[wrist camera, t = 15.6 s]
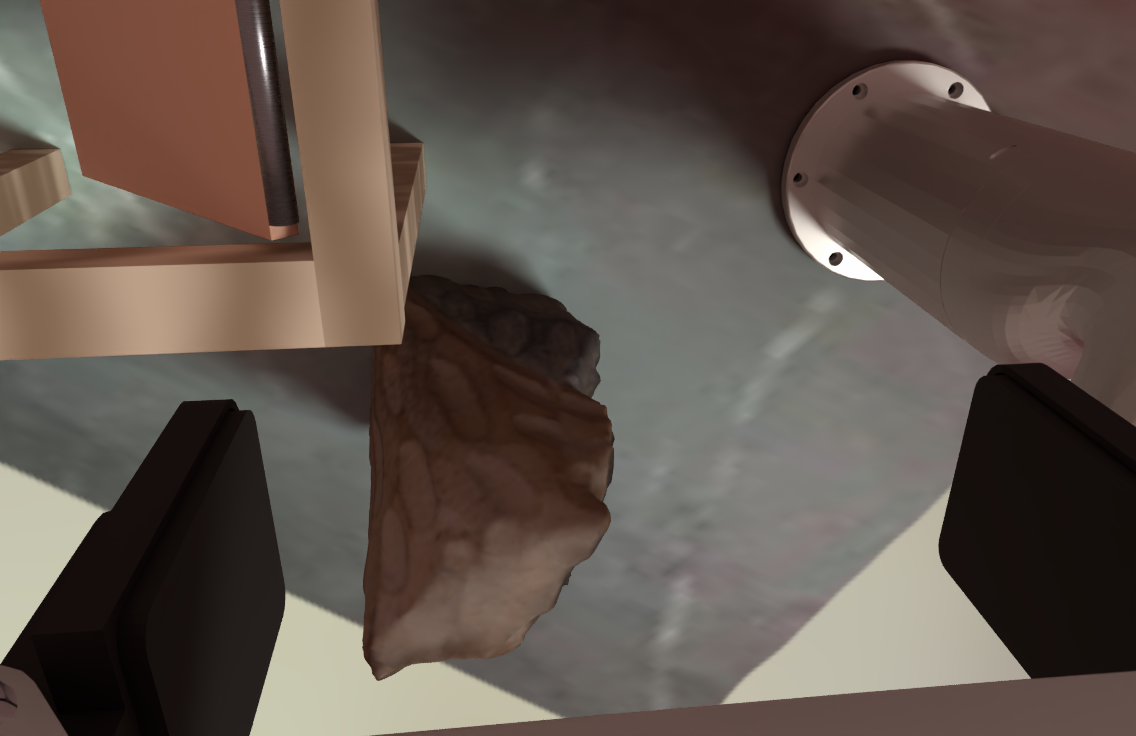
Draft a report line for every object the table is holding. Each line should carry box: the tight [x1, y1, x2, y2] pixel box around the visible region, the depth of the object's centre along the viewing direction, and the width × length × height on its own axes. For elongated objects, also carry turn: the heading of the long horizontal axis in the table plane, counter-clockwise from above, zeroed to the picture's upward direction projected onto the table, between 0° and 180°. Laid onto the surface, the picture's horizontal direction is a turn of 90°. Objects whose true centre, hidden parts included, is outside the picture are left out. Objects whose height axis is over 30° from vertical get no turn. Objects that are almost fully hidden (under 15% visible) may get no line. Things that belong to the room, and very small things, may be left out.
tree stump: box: [362, 275, 615, 681], centre depth 43 cm, size 13×13×20 cm
